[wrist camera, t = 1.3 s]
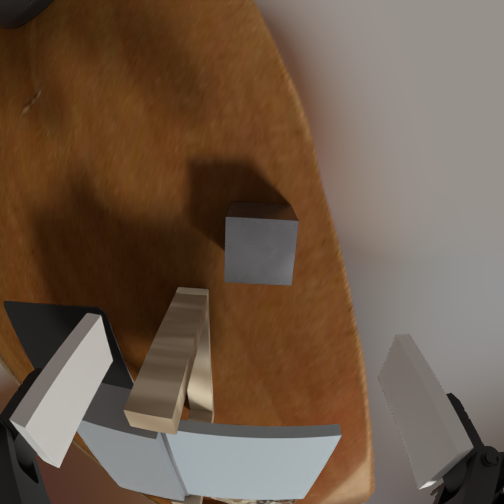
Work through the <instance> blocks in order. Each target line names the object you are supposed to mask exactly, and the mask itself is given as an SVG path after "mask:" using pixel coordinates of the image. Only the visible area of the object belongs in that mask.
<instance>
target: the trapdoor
mask: <svg viewBox="0 0 504 504" xmlns="http://www.w3.org/2000/svg"><path fill="white" fill-rule="evenodd" d="M131 390H132V389H127V388H122V387H117V386H113V385H109V384H104V383H100V385H99V387H98V389H97V391H96V393H95V395H94V397H93V399H92V401H91V403H90V404H89V406H88V408H87V410H86V412H85V414H84V416H83V418H82V420H81V422H80V424H79V426H78V429H77V432H78V433H79V435H80V436H81V437H82V439H83V440H84V442H85V443H86V445H87V446H88V447H89V449H90V450H91V452H92V453H93V454H94V456H95V457H96V458H97V459H98V461H99V462H100V463H101V465H102V466H103V467H104V468H105V470H107V472H108V473H109V474H110V476H111V477H112V478H113V479H114V480H115V482H116V483H117V484H118V485H119V486H120V487H123V488H126V489H130V490H134V491H138V492H142V493H146V494H150V495H154V496H159V497H164V498H169V499H174V500H180V501H184V498H185V496H191V495H200V496H208V497H218V498H230V499H250V500H284V499H303V498H304V497H305V495H306V494H307V492H308V491H309V489H310V488H311V486H312V485H313V483H314V482H315V480H316V479H317V477H318V475H319V474H320V472H321V470H322V469H323V467H324V466H325V464H326V462H327V460H328V459H329V457H330V455H331V454H332V452H333V450H334V448H335V446H336V445H337V443H338V441H339V439H340V437H341V430H340V426H339V424H334V425H319V426H291V427H269V426H241V425H226V424H214V423H204V422H196V421H188V420H181V419H180V422H179V426H178V430H177V434H176V435H173V434H167V433H162V432H156V431H151V430H146V429H141V428H137V427H132V426H130V424H129V422H128V419H127V417H126V415H125V413H124V410H123V409H124V407H125V404H126V402H127V400H128V397H129V395H130V393H131Z"/></svg>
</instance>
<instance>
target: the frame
mask: <svg viewBox="0 0 504 504" xmlns="http://www.w3.org/2000/svg"><path fill="white" fill-rule="evenodd" d="M186 393H188V399H189V405H190V412H189V417H188V421H196V422H204V423H213V419H214V404H213V388H212V370H211V349H210V324H209V289H199V288H185V287H178V288H177V290H176V294H175V296H174V298H173V300H172V302H171V304H170V306H169V308H168V310H167V312H166V314H165V317H164V319H163V321H162V323H161V325H160V327H159V329H158V332H157V334H156V336H155V338H154V340H153V342H152V345H151V347H150V349H149V351H148V353H147V356H146V358H145V360H144V362H143V365H142V367H141V369H140V372H139V374H138V376H137V378H136V381H135V383H134V385H133V388H132V390H131V393H130V395H129V397H128V400H127V402H126V404H125V407H124V409H123V410H124V413H125V415H126V417H127V419H128V422H129V424H130V426H132V427H137V428H141V429H146V430H151V431H156V432H162V433H167V434H173V435H176V434H177V430H178V426H179V422H180V418H181V413H182V409H183V405H184V401H185V397H186ZM202 500H203V496H200V495H191V496H185V498H184V501H180V500H174V499H172V500H171V502H172V503H173V504H202Z"/></svg>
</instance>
